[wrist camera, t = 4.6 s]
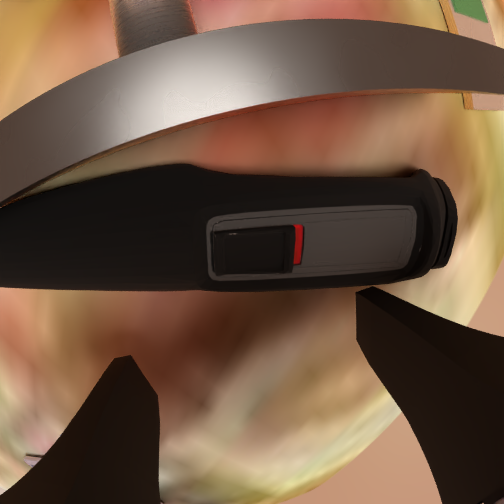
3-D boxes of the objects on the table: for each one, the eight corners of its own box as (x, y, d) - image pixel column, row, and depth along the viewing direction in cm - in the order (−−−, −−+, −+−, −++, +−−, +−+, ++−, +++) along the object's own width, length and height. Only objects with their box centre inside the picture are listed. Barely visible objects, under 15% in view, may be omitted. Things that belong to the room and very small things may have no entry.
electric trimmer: (-1, 179, 7) (-59, 205, 4) (429, 167, 9) (491, 188, 7) (20, 277, 9) (-21, 326, 6) (413, 258, 11) (463, 297, 8)
